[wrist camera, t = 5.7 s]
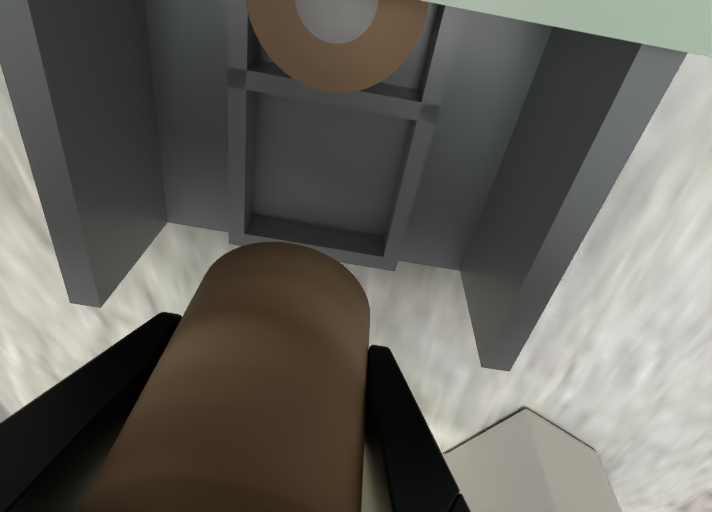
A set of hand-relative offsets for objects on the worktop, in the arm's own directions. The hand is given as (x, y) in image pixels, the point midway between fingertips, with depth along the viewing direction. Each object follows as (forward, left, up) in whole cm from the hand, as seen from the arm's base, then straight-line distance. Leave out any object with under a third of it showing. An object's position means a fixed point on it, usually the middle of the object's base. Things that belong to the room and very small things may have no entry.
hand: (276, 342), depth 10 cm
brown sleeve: (0, 0, -1) cm, 1 cm away
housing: (-3, 0, -10) cm, 11 cm away
